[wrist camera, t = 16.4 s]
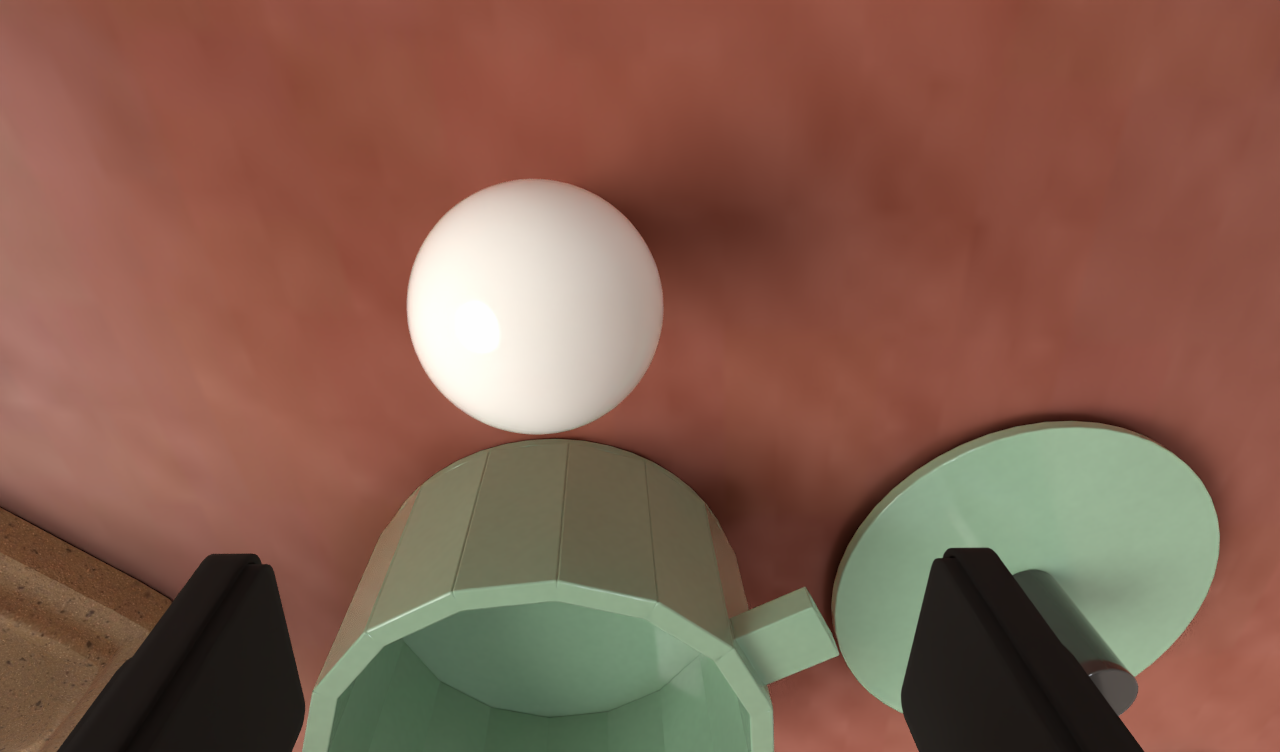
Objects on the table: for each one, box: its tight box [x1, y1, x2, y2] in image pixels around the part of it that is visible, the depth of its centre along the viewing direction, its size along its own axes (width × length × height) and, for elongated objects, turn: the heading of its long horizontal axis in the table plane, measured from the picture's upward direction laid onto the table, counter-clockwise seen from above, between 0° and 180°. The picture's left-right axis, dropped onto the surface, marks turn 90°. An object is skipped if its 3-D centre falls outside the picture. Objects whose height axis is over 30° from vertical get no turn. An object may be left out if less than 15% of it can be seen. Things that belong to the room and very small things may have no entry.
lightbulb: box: [407, 179, 664, 434], centre depth 21 cm, size 6×6×11 cm
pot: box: [302, 439, 839, 752], centre depth 29 cm, size 16×21×8 cm
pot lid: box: [831, 421, 1220, 716], centre depth 31 cm, size 17×17×7 cm
